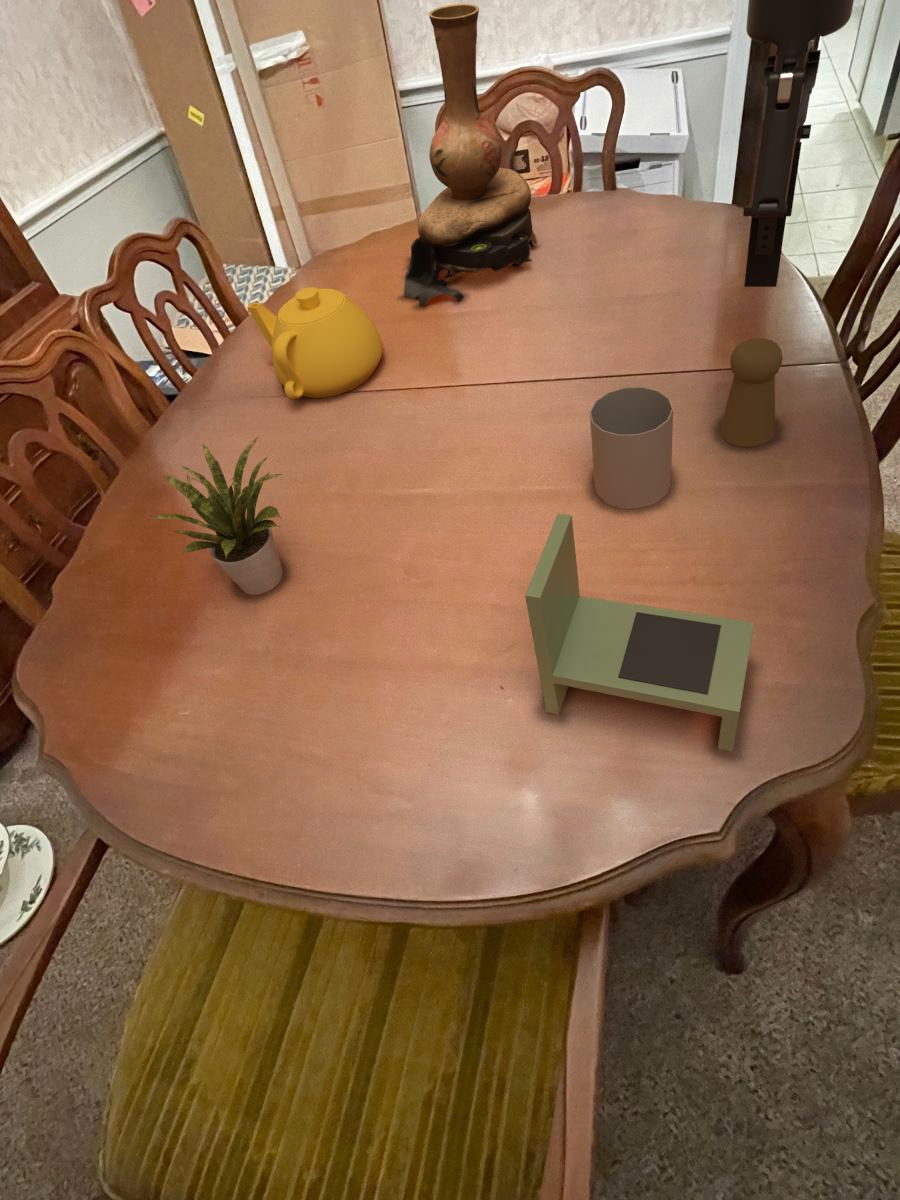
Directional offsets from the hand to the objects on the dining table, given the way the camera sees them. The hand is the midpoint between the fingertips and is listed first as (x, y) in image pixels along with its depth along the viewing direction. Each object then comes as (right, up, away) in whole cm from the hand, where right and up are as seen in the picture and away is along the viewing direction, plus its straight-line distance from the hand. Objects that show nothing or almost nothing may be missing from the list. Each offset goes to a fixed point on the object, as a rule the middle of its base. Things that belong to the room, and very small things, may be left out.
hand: (768, 248), depth 72 cm
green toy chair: (-13, -42, -4) cm, 44 cm away
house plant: (-51, -31, +16) cm, 62 cm away
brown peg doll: (+4, -14, +16) cm, 22 cm away
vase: (-27, +23, +57) cm, 67 cm away
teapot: (-50, +1, +43) cm, 66 cm away
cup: (-10, -21, +14) cm, 27 cm away
